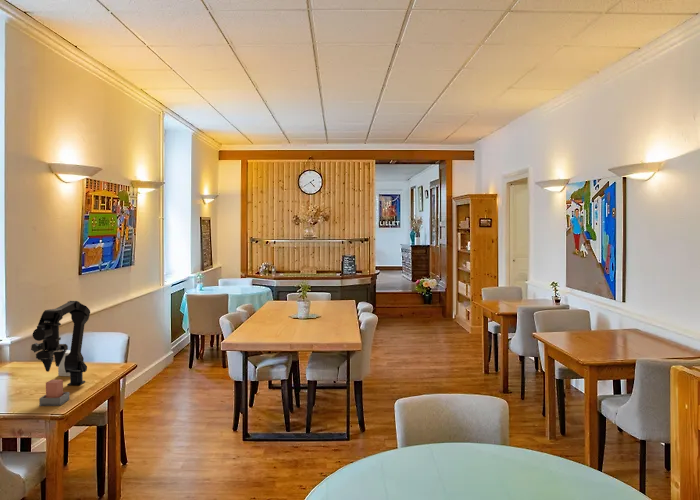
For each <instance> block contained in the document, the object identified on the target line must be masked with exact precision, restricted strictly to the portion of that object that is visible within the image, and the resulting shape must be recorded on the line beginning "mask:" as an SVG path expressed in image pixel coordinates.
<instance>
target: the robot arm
mask: <svg viewBox="0 0 700 500" xmlns="http://www.w3.org/2000/svg"><path fill="white" fill-rule="evenodd" d="M67 314H70V315H71V317H70V319H71V321H72V324H73V327H72V329H73V330H72V337H71V344H70V349H68V348H69V345H68V344H66V343H60V341H61V340H62V337H60V326H61V325H62V324H61V321H62V319H63V317H64V316H65V315H67ZM90 315H91V309H90V308H89V307H87V305H85V304H82V303H81V302H80V301H78V300H69V301H67V302H66V303H64V304H62V305H60V306H58V307H55V308H52V309H46V310H45V309H44V311H43V312H42V314H41V316H40V319H39V321H38V324H37V326H36V328H35V329H34V330H33V332H32V338H33V339H34V340H35V341H38V342H39V343H37V342H35V343H33V344H31V346H30V351H33V353H36V354H35V359H37V360H39V361H41V362H42V364H43V366H44V369H45V372H46V373H49V372H50V370H51V367H52V363H53V360H54V363H55V367H57V368H58V366H59V365H60V362H61V360H62V358H63V356H64V354H65V352H66V350H70V353H69V354H68V355H66V356H65V362H64V367H65V371H66V373H70V376H69V383H67V386H81V385H82V384H84V383H86V380H83V379H84V378H83V376H84V375H83V373H86V372H87V369H88V366H87V365H86V363H85V361H84V356H83V354H82V346H83V339H84V331H85V330H84V329H85V325H86V324H87V322H88V321H89V319H90ZM41 341H42V342H41Z"/></svg>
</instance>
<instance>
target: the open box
mask: <svg viewBox="0 0 700 500" xmlns="http://www.w3.org/2000/svg"><path fill="white" fill-rule="evenodd" d="M38 400H39V402H38V403H39V404H38V405H39V407H59V406H62V405H63V404H65V403H66V402H68V401H69V400H70V391H63V395H62V396H61V397H59V398H46V394H44V395H43V396H41V397H39V399H38Z"/></svg>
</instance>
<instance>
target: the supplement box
mask: <svg viewBox="0 0 700 500" xmlns="http://www.w3.org/2000/svg"><path fill="white" fill-rule="evenodd" d="M70 350H71V349H68V350H66V352H65V354H64V356H63V358H62V360H61V362H60V365H59V366H58V367H57V369H58V370H57V371H58V373H57V374H58V375H57V376H61V377H70V373H66V371H65V367H64V362H65V356H66V355H68V354H69V353H70Z"/></svg>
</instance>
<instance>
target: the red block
mask: <svg viewBox="0 0 700 500" xmlns="http://www.w3.org/2000/svg"><path fill="white" fill-rule="evenodd" d="M63 392H64V379H54V378H53V379H51V380H48V381H46V382H45V395H46V398H59V397H61V396H62V395H63Z"/></svg>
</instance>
